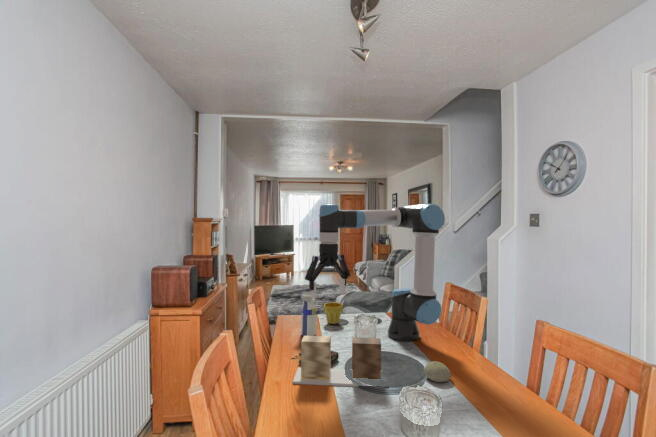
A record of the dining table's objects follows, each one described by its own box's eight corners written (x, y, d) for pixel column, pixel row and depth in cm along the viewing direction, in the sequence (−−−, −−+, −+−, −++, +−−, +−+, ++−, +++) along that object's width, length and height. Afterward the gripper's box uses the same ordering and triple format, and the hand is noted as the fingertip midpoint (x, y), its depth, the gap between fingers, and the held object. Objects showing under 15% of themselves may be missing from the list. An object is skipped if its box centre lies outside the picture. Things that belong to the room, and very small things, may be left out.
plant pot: (336, 326, 178) (336, 307, 178) (320, 323, 183) (320, 305, 183) (345, 321, 187) (345, 303, 187) (329, 318, 192) (330, 301, 192)
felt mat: (385, 373, 123) (385, 370, 123) (389, 387, 112) (389, 385, 112) (298, 369, 126) (298, 367, 126) (292, 383, 115) (292, 381, 115)
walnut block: (379, 373, 121) (379, 338, 121) (381, 381, 115) (381, 344, 115) (352, 372, 122) (352, 337, 122) (352, 380, 116) (352, 343, 116)
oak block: (330, 371, 123) (330, 336, 123) (329, 379, 117) (329, 342, 117) (303, 370, 123) (303, 335, 123) (301, 378, 117) (301, 341, 117)
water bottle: (320, 332, 168) (320, 283, 168) (310, 337, 160) (311, 285, 161) (307, 329, 172) (307, 281, 172) (297, 334, 165) (297, 284, 165)
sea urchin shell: (449, 366, 123) (451, 358, 117) (449, 389, 118) (451, 382, 112) (424, 362, 126) (424, 354, 120) (423, 384, 121) (423, 377, 115)
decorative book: (304, 351, 144) (304, 340, 144) (339, 360, 135) (339, 348, 135) (284, 363, 133) (285, 350, 133) (322, 373, 124) (322, 360, 124)
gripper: (348, 241, 143) (347, 291, 142) (296, 243, 129) (295, 298, 129) (359, 242, 136) (358, 294, 136) (306, 244, 123) (305, 302, 122)
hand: (328, 296), depth 132 cm, fingers open, 13 cm apart
